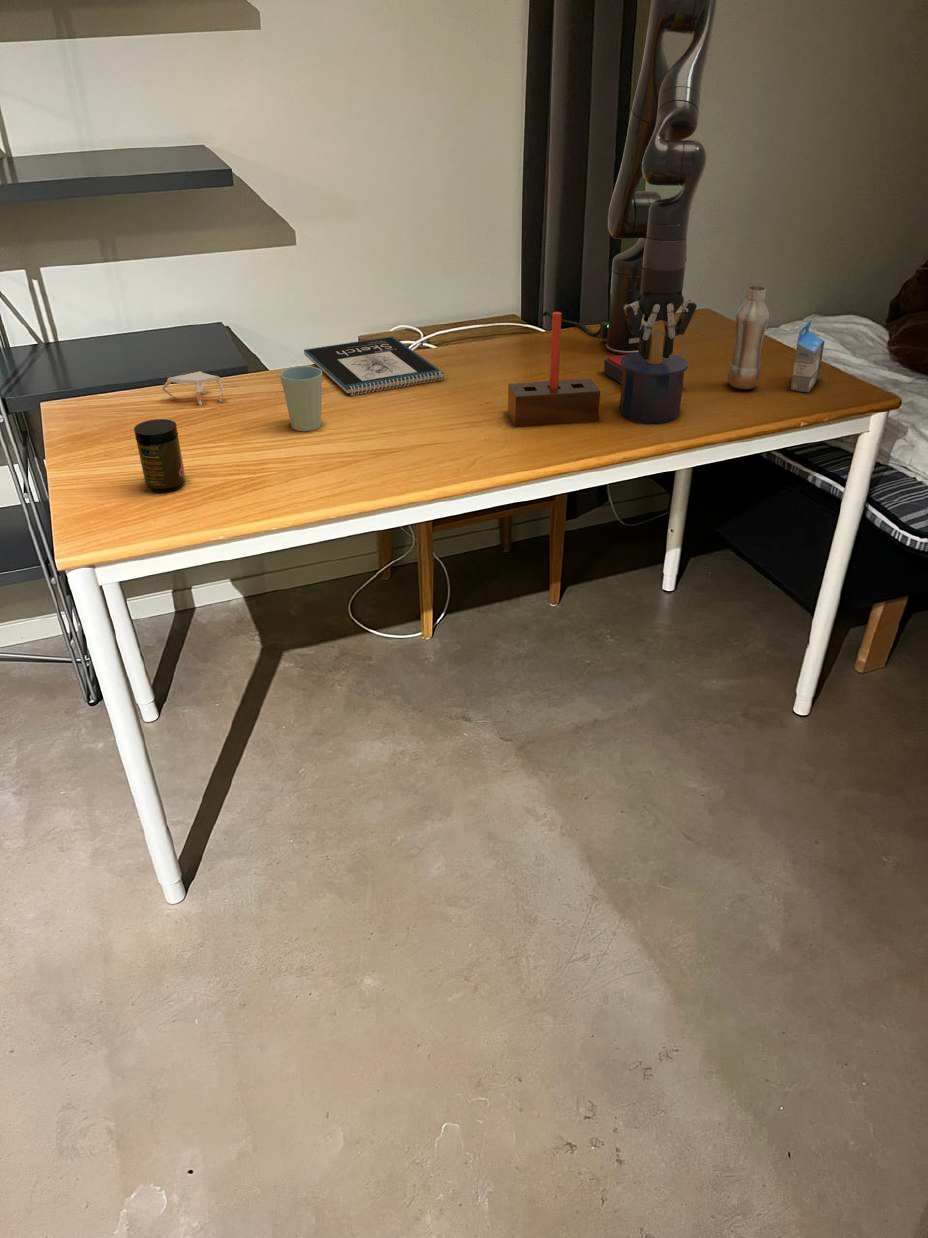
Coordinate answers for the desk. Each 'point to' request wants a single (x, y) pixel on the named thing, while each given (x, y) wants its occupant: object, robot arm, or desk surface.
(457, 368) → the desk surface
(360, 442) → the desk surface
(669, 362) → the tin lid
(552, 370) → the straw
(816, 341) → the label tape box
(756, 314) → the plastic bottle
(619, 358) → the calculator
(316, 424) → the cup
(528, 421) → the straw holder
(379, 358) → the sketchbook
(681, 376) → the tin
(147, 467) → the supplement container
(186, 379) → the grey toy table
